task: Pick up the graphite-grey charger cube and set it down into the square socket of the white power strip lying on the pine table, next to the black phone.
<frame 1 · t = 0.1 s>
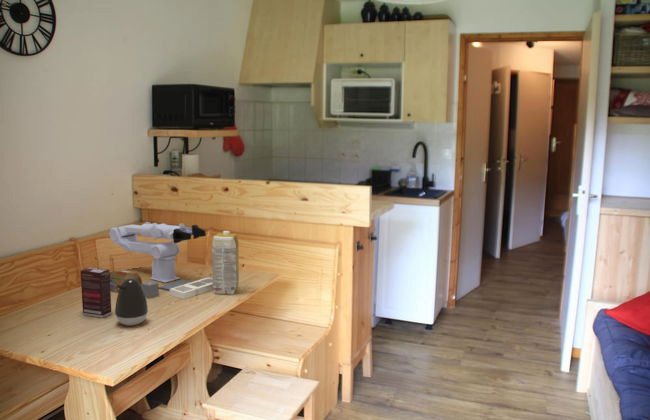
hand: (197, 234, 223), 22 cm above the table, tool horizontal, fingers open, 7 cm apart
charger: (150, 296, 216), on the table
outlet strip: (196, 290, 224), on the table
black egg-shaped piece: (131, 323, 188), on the table
phone: (177, 286, 230), on the table
juice carton: (225, 292, 223), on the table
tin: (125, 292, 220), on the table
supplement box: (97, 314, 196), on the table
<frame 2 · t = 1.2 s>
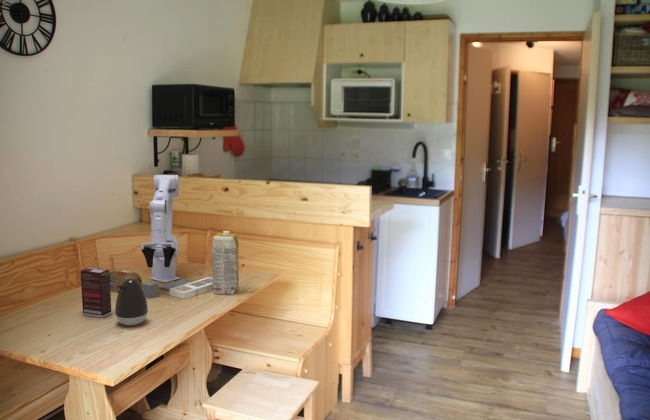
hand: (158, 267, 214), 11 cm above the table, tool tilted 15°, fingers open, 7 cm apart
nothing on the table moved.
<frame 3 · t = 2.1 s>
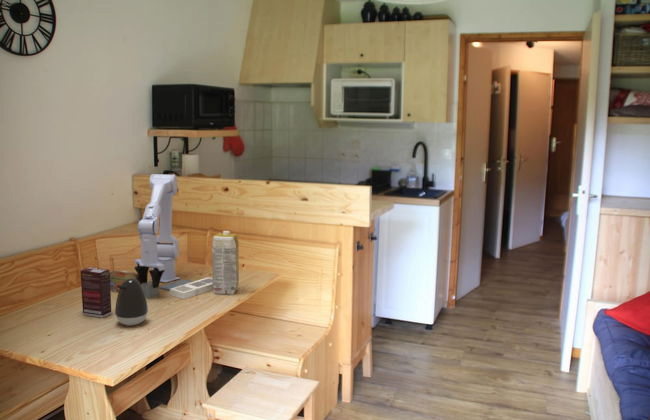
hand: (149, 285, 216), 4 cm above the table, tool pointing down, fingers open, 6 cm apart
tin: (124, 292, 220), on the table, touching gripper
everything else where it was.
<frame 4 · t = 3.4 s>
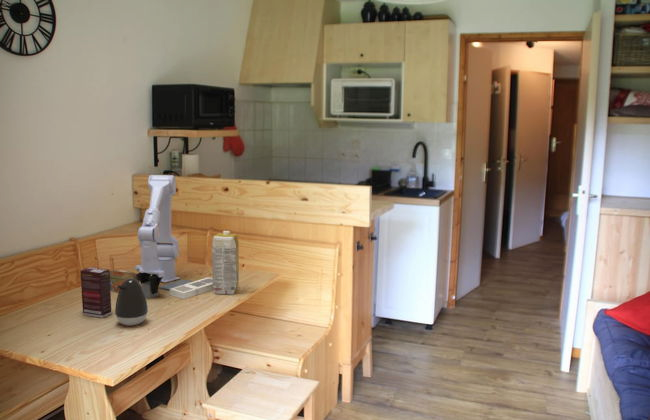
hand: (150, 292, 216), 1 cm above the table, tool pointing down, fingers closed on charger, 4 cm apart
charger: (150, 295, 216), on the table, touching gripper
tin: (122, 292, 220), on the table
everything else where it was.
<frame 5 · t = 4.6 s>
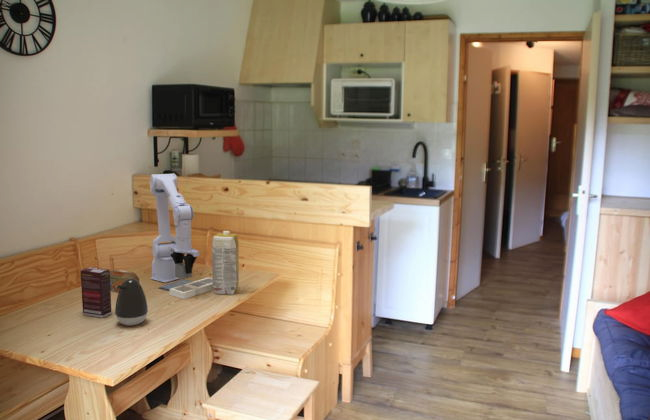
hand: (184, 272, 217), 9 cm above the table, tool pointing down, fingers closed on charger, 4 cm apart
charger: (183, 276, 217), point 7 cm above the table, touching gripper
everything else where it was.
when the fingers open (3 cm above the table, at t = 6.1 s): charger drops 2 cm, resting in outlet strip.
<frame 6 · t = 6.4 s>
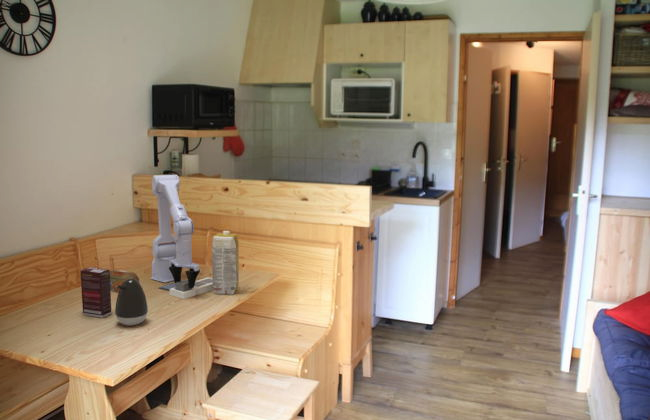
hand: (184, 285, 218), 3 cm above the table, tool pointing down, fingers open, 7 cm apart
charger: (183, 295, 218), resting in outlet strip
everything else where it was.
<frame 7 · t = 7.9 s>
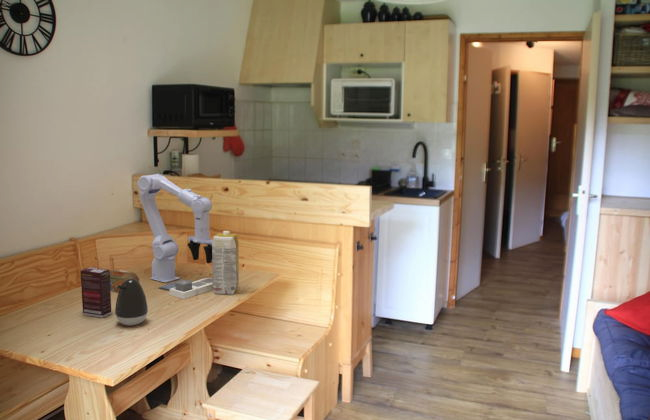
hand: (202, 261, 230), 10 cm above the table, tool pointing down, fingers open, 7 cm apart
nothing on the table moved.
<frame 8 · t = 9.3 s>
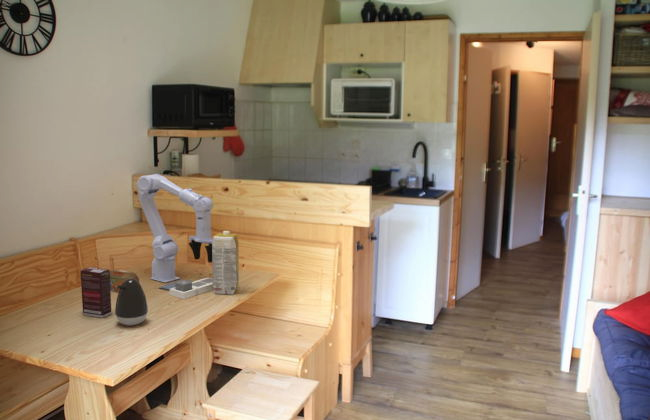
hand: (203, 260, 231), 10 cm above the table, tool pointing down, fingers open, 7 cm apart
nothing on the table moved.
at the end: charger 0.5 cm from the target spot on the outlet strip, point 0.0 cm above the outlet strip's base; charger tilted 0°; the gripper is holding nothing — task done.
